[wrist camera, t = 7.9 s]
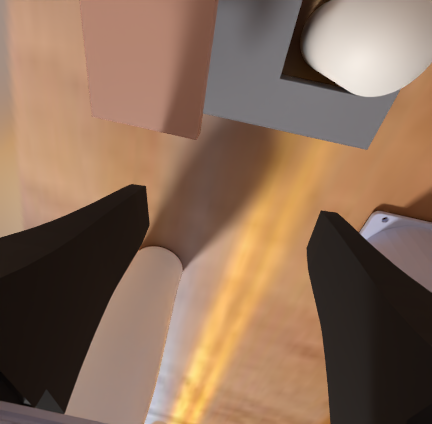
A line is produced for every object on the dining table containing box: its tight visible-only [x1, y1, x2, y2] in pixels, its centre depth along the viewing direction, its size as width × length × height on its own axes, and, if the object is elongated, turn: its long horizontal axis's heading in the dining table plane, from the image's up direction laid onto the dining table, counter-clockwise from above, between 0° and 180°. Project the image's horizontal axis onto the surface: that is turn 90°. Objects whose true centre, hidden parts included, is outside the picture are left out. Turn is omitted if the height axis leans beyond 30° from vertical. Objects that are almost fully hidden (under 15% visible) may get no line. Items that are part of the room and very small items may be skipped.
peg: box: [300, 0, 432, 97], centre depth 11 cm, size 3×3×8 cm
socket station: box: [79, 0, 400, 150], centre depth 11 cm, size 14×10×8 cm
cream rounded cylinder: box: [65, 246, 183, 424], centre depth 22 cm, size 7×7×15 cm
